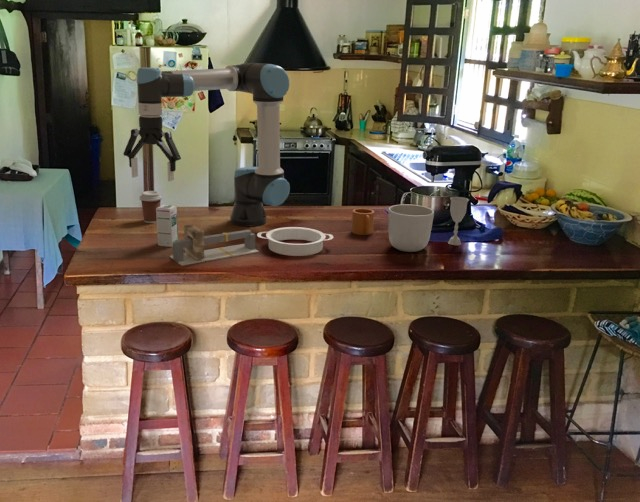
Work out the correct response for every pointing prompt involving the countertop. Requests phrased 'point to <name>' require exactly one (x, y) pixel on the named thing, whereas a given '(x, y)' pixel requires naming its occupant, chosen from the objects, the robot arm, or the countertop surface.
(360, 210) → the mug
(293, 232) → the pot
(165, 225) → the syrup box
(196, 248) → the tan flat block
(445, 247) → the countertop surface
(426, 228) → the planter
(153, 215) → the coffee cup
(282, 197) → the robot arm
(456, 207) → the chalice
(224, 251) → the rail
